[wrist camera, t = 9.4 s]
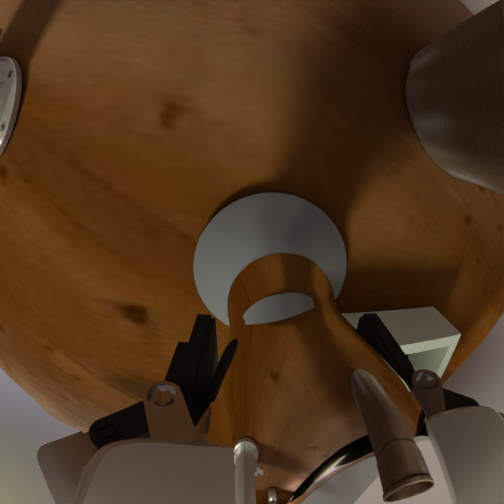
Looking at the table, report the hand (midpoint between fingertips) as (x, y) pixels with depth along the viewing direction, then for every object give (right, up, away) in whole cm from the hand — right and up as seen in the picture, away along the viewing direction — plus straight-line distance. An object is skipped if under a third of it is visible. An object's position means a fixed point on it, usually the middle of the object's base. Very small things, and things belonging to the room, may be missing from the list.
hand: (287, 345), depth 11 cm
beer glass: (0, +1, +4) cm, 4 cm away
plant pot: (+16, +16, +4) cm, 23 cm away
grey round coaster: (0, +3, +8) cm, 9 cm away
